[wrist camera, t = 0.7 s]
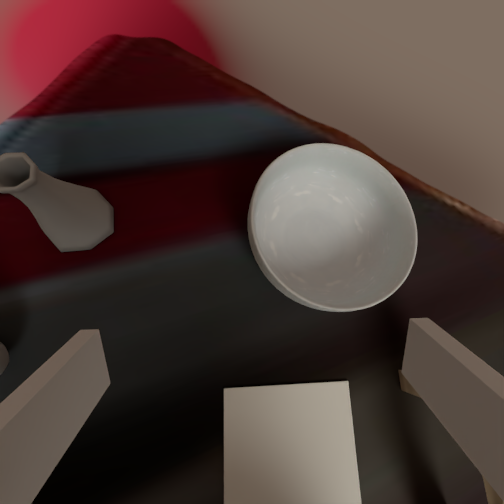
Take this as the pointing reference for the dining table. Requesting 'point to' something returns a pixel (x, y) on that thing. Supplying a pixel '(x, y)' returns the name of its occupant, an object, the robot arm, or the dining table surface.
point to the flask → (58, 204)
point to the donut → (3, 358)
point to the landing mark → (290, 445)
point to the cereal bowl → (331, 228)
